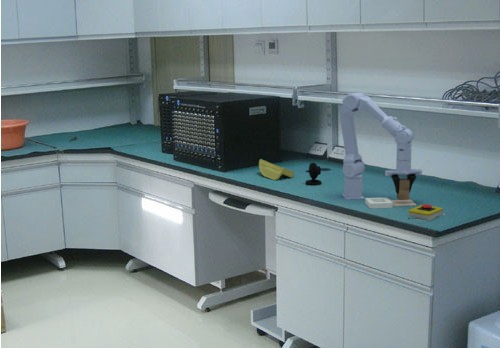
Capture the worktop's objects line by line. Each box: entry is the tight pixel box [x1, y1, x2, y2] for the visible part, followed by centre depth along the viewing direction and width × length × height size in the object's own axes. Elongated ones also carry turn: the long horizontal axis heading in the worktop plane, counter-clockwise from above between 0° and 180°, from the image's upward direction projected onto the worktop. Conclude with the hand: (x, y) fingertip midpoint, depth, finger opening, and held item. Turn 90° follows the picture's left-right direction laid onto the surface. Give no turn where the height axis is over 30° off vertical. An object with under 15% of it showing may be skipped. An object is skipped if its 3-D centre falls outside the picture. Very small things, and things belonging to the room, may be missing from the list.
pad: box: [389, 199, 417, 207], centre depth 276 cm, size 9×9×1 cm
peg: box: [396, 177, 410, 200], centre depth 275 cm, size 4×4×8 cm
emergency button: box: [407, 204, 446, 222], centre depth 257 cm, size 9×4×15 cm
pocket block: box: [364, 197, 394, 209], centre depth 273 cm, size 9×9×2 cm
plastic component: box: [258, 158, 295, 181], centre depth 335 cm, size 20×7×10 cm
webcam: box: [305, 162, 323, 186], centre depth 315 cm, size 8×8×10 cm
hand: (402, 192), depth 275 cm, fingers closed on peg, 4 cm apart
